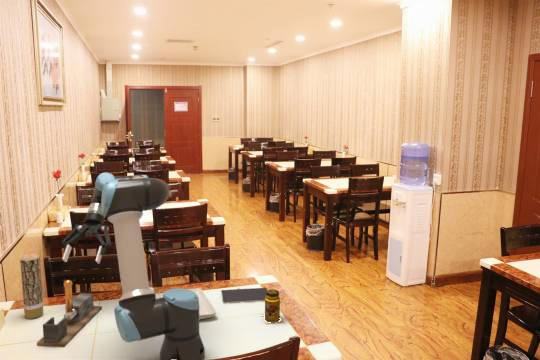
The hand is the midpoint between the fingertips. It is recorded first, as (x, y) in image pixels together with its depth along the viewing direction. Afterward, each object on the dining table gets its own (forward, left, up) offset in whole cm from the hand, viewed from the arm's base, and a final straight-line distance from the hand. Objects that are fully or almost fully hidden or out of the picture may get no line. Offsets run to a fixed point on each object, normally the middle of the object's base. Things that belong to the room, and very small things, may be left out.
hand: (80, 261), depth 178 cm
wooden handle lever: (-3, +2, -19) cm, 20 cm away
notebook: (-23, -64, -23) cm, 72 cm away
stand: (-7, +6, -23) cm, 24 cm away
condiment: (-47, -61, -23) cm, 81 cm away
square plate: (-19, -32, -23) cm, 44 cm away
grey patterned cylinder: (+10, +17, -23) cm, 30 cm away
